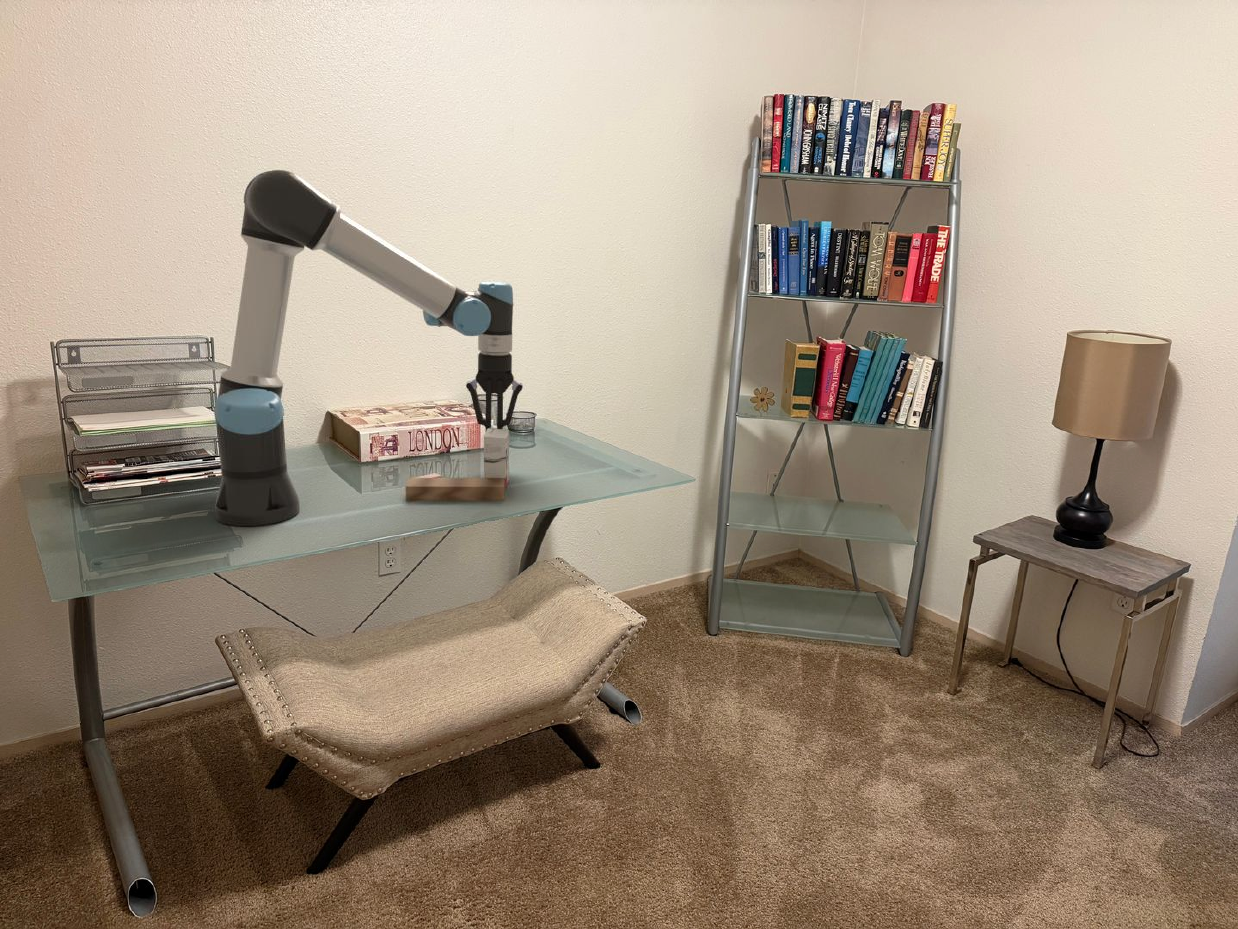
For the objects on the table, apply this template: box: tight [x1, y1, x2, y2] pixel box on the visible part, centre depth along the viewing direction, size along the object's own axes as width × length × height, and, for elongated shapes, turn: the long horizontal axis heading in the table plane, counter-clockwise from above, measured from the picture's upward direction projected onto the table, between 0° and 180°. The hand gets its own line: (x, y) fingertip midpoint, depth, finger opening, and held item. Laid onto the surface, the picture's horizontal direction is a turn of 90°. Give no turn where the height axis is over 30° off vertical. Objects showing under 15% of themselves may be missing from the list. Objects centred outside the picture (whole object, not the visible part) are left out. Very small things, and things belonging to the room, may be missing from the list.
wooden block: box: [404, 477, 506, 501], centre depth 182 cm, size 20×6×3 cm, turn 96°
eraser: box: [415, 472, 443, 478], centre depth 189 cm, size 6×2×2 cm, turn 137°
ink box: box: [483, 428, 510, 491], centre depth 189 cm, size 9×5×12 cm, turn 2°
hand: (493, 454), depth 200 cm, fingers closed
